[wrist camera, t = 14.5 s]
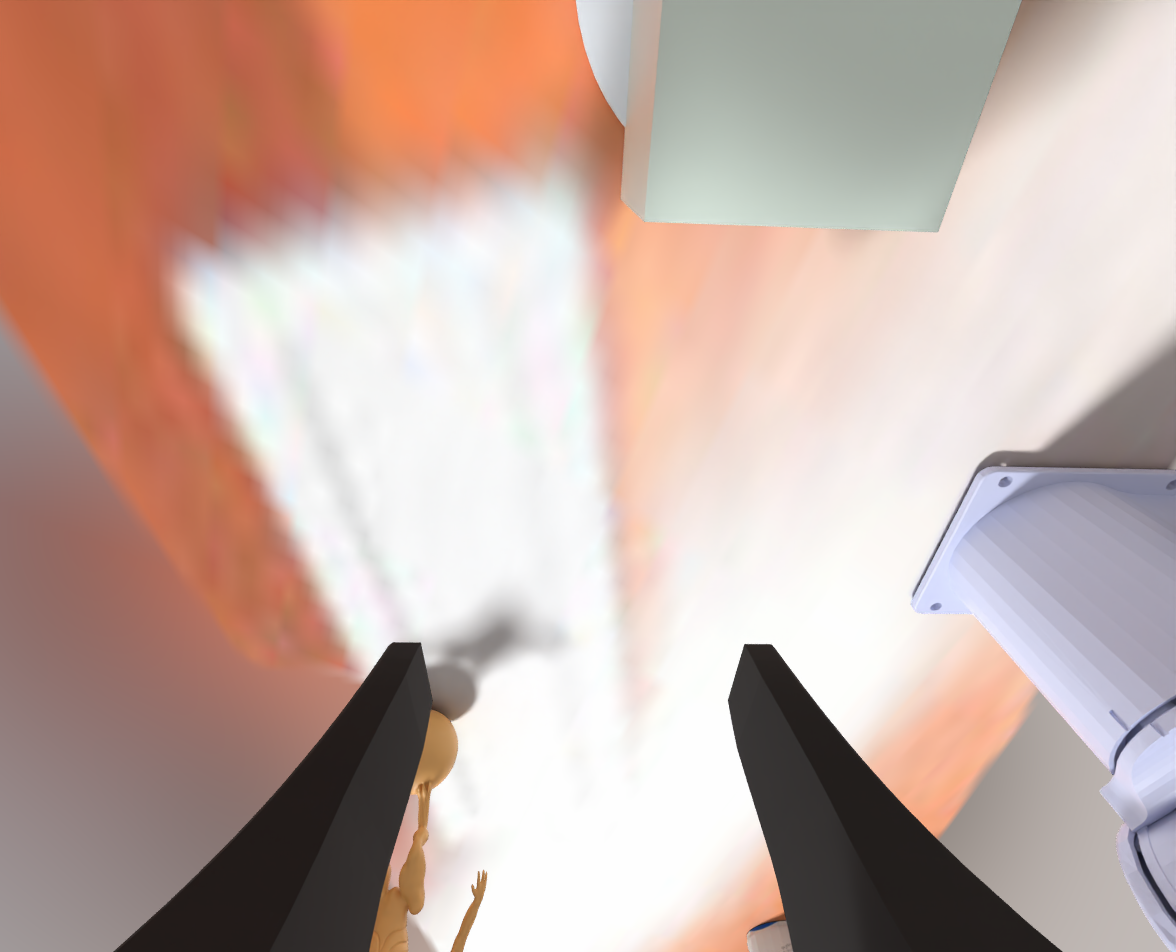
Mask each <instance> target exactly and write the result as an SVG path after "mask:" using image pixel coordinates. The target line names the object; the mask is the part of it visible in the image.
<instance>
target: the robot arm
mask: <svg viewBox="0 0 1176 952" xmlns="http://www.w3.org/2000/svg"><path fill="white" fill-rule="evenodd" d="M1002 478H1003V480H1001V479H1002ZM1000 480H1001V481H1000ZM911 606H912V608H913V609H914V610H915V612H917V613H922V614H973V615H974V616H975V617H976V618H977V619H978V620H979V622H980V623H981V624H982V625H983V626H984V627H985V629H986V630H987V631H988V632H989V633H990V634H991V635H992V637H993V638H994V639H995V640H996V641H997V642H998V643H999V645H1000V646H1001V647H1002V648H1003V649H1004V650H1005V652H1006V653H1007V654H1008V655H1009V656H1010V657H1011V658H1012V660H1013V661H1014V662H1015V663H1016V664H1017V665H1018V666H1019V668H1020V669H1021V670H1022V671H1023V672H1024V673H1025V675H1026V676H1027V677H1028V678H1029V679H1030V680H1031V681H1032V683H1033V684H1034V685H1035V686H1036V687H1037V688H1038V690H1039V691H1040V692H1041V693H1042V694H1043V695H1044V696H1045V698H1046V699H1047V700H1048V701H1049V702H1050V703H1051V704H1052V706H1053V707H1054V708H1055V709H1056V710H1057V711H1058V713H1059V714H1060V715H1061V716H1062V717H1063V718H1064V719H1065V721H1066V722H1067V723H1068V724H1069V725H1070V726H1071V727H1072V729H1073V730H1074V731H1075V732H1076V733H1077V734H1078V736H1079V737H1080V738H1081V739H1082V740H1083V741H1084V742H1085V744H1086V745H1087V746H1088V747H1089V748H1090V749H1091V751H1092V752H1093V753H1094V754H1095V755H1096V756H1097V757H1098V759H1099V760H1100V761H1101V762H1102V763H1103V764H1104V765H1105V767H1106V768H1107V769H1108V770H1109V771H1110V772H1111V774H1112V775H1114V776H1113V778H1112V779H1111V780H1110V781H1109V782H1108V783H1107V784H1106V785H1105V786H1104V787H1102V788H1101V789H1100V793H1101V794H1102V796H1103V797H1104V798H1105V799H1106V800H1107V802H1108V803H1109V804H1110V805H1111V806H1112V808H1113V809H1114V810H1115V811H1116V812H1117V814H1118V815H1119V816H1120V817H1121V818H1122V820H1123V821H1124V822H1125V823H1123V824H1122V825H1121V827H1120V829H1119V831H1118V833H1117V838H1116V839H1117V840H1116V848H1117V853H1118V858H1119V862H1120V865H1121V867H1122V870H1123V872H1124V875H1125V878H1126V880H1127V882H1128V884H1129V886H1130V888H1131V890H1132V892H1133V894H1134V896H1135V898H1136V900H1137V902H1138V904H1139V905H1140V908H1141V909H1142V911H1143V912H1144V914H1145V916H1146V918H1147V919H1148V921H1149V922H1150V924H1151V925H1152V927H1153V928H1154V930H1155V931H1156V933H1157V934H1158V936H1159V937H1160V938H1161V940H1162V941H1163V942H1164V944H1165V945H1166V946H1167V948H1168V949H1169V950H1170V951H1171V952H1176V470H1158V469H1104V468H1050V467H996V466H993V467H987V468H985V469H983V470H981V471H980V472H979V473H978V474H977V475H976V477H975V479H974V481H973V483H972V484H971V486H970V488H969V490H968V492H967V494H966V496H965V498H964V500H963V502H962V504H961V506H960V508H959V510H958V512H957V514H956V515H955V517H954V519H953V521H952V523H951V525H950V527H949V529H948V531H947V533H946V535H945V537H944V539H943V541H942V543H941V545H940V547H939V548H938V550H937V552H936V554H935V556H934V558H933V560H932V562H931V564H930V566H929V568H928V570H927V572H926V574H925V576H924V578H923V579H922V581H921V583H920V585H919V587H918V589H917V591H916V593H915V595H914V597H913V599H912V601H911ZM432 701H433V700H432V695H431V690H430V685H429V680H428V675H427V670H426V666H425V661H424V656H423V651H422V646H421V643H396V642H393V643H392V644H390V645H389V646H388V647H387V649H386V650H385V652H384V653H383V655H382V656H381V658H380V659H379V661H378V662H377V664H376V665H375V666H374V668H373V669H372V671H371V672H370V674H369V675H368V676H367V678H366V679H365V681H364V682H363V683H362V685H361V686H360V688H359V689H358V690H357V692H356V693H355V694H354V696H353V697H352V699H351V700H350V701H349V703H348V704H347V705H346V707H345V708H344V709H343V711H342V712H341V713H340V714H339V716H338V717H337V718H336V720H335V721H334V722H333V723H332V725H331V726H330V727H329V729H328V730H327V731H326V733H325V734H324V735H323V736H322V738H321V739H320V740H319V742H318V743H317V744H316V745H315V746H314V748H313V749H312V750H311V751H310V752H309V753H308V755H307V756H306V757H305V759H304V760H303V761H302V762H301V763H300V764H299V766H298V767H297V768H296V769H295V770H294V771H293V773H292V774H291V775H290V776H289V777H288V779H287V780H286V781H285V782H284V783H283V784H282V786H281V787H280V788H279V789H278V790H277V791H276V793H275V794H274V795H273V796H272V797H271V798H270V799H269V800H268V801H267V802H266V804H265V805H264V806H263V807H262V808H261V809H260V810H259V811H258V812H257V813H256V815H255V816H254V817H253V818H252V819H251V820H250V821H249V822H248V823H247V824H246V825H245V826H244V827H243V828H242V829H241V830H240V831H239V833H238V834H237V835H236V836H235V837H234V838H233V839H232V840H231V841H230V842H229V843H228V844H227V845H226V846H225V847H224V848H223V849H222V850H221V851H220V852H219V853H218V854H217V855H216V856H215V857H214V858H213V859H212V860H211V861H210V862H209V863H208V864H207V865H206V866H205V867H204V868H203V869H202V870H201V871H200V872H199V873H198V874H197V875H196V876H195V877H194V878H193V879H192V880H191V881H190V882H189V883H188V884H187V885H186V886H185V887H184V888H183V889H181V890H180V891H179V892H178V893H177V894H176V895H175V896H174V897H173V898H172V899H171V900H170V901H169V902H168V903H167V904H166V905H165V906H164V907H162V908H161V909H160V910H159V911H158V912H157V913H156V914H155V915H154V916H152V917H151V918H150V919H149V920H148V921H147V922H146V923H145V924H144V925H142V926H141V927H140V928H139V929H138V930H137V931H136V932H135V933H134V934H133V935H131V936H130V937H129V938H128V939H127V940H126V941H125V942H124V943H123V944H121V945H120V946H119V947H118V948H117V949H116V950H115V951H114V952H369V950H370V945H371V940H372V936H373V931H374V926H375V922H376V917H377V912H378V908H379V903H380V898H381V894H382V889H383V885H384V882H385V878H386V874H387V870H388V867H389V863H390V859H391V856H392V853H393V849H394V846H395V843H396V839H397V836H398V833H399V830H400V826H401V823H402V820H403V816H404V813H405V810H406V806H407V803H408V800H409V796H410V793H411V790H412V786H413V783H414V780H415V776H416V773H417V769H418V766H419V763H420V759H421V756H422V752H423V749H424V744H425V739H426V734H427V728H428V723H429V718H430V712H431V706H432ZM728 703H729V709H730V714H731V720H732V725H733V730H734V735H735V740H736V745H737V749H738V753H739V756H740V759H741V763H742V766H743V769H744V773H745V776H746V779H747V782H748V786H749V789H750V792H751V795H752V799H753V802H754V805H755V808H756V811H757V815H758V818H759V821H760V824H761V827H762V831H763V834H764V837H765V840H766V844H767V847H768V850H769V853H770V856H771V860H772V863H773V867H774V871H775V874H776V878H777V882H778V886H779V890H780V895H781V899H782V904H783V908H784V913H785V917H786V922H787V926H788V931H789V935H790V940H791V944H792V949H793V952H1062V951H1061V950H1060V949H1059V948H1057V947H1056V946H1055V945H1054V944H1053V943H1051V942H1050V941H1049V940H1048V939H1046V938H1045V937H1044V936H1043V935H1042V934H1041V933H1039V932H1038V931H1037V930H1036V929H1034V928H1033V927H1032V926H1031V925H1030V924H1029V923H1028V922H1027V921H1025V920H1024V919H1023V918H1022V917H1021V916H1020V915H1019V914H1018V913H1016V912H1015V911H1014V910H1013V909H1012V908H1011V907H1010V906H1009V905H1008V904H1006V903H1005V902H1004V901H1003V900H1002V899H1001V898H1000V897H999V896H997V895H996V894H995V893H994V892H993V891H992V890H991V889H990V888H989V887H988V886H986V885H985V884H984V883H983V882H982V881H980V879H979V878H977V877H976V876H975V875H974V874H973V873H972V872H971V871H970V870H969V869H968V868H966V867H965V866H964V865H963V864H962V863H961V862H960V861H959V860H958V859H957V858H956V857H955V856H954V855H953V854H952V853H951V852H950V851H949V850H948V849H947V848H946V847H945V846H944V845H943V844H942V843H941V842H940V841H939V840H937V839H936V838H935V837H934V836H933V835H932V834H931V833H930V832H929V831H928V830H927V829H926V828H925V827H924V825H923V824H922V823H921V822H920V821H919V820H918V819H917V818H916V817H915V816H914V815H913V814H912V813H911V812H910V811H909V810H908V809H907V808H906V807H905V806H904V805H903V804H902V803H901V802H900V801H899V800H898V799H897V797H896V796H895V795H894V794H893V793H892V792H891V791H890V790H889V789H888V788H887V787H886V786H885V784H884V783H883V782H882V781H881V780H880V779H879V778H878V777H877V775H876V774H875V773H874V772H873V771H872V770H871V769H870V768H869V766H868V765H867V764H866V763H865V762H864V761H863V760H862V758H861V757H860V756H859V755H858V754H857V753H856V751H855V750H854V749H853V748H852V747H851V746H850V744H849V743H848V742H847V741H846V739H845V738H844V737H843V736H842V735H841V733H840V732H839V731H838V730H837V728H836V727H835V726H834V725H833V724H832V722H831V721H830V720H829V719H828V717H827V716H826V715H825V714H824V712H823V711H822V710H821V709H820V707H819V706H818V705H817V704H816V702H815V701H814V700H813V698H812V697H811V696H810V694H809V693H808V692H807V691H806V689H805V688H804V687H803V685H802V684H801V683H800V681H799V680H798V679H797V677H796V676H795V675H794V673H793V672H792V671H791V669H790V668H789V667H788V665H787V664H786V663H785V661H784V660H783V659H782V657H781V656H780V655H779V653H778V652H777V650H776V649H775V648H774V647H773V646H772V645H771V644H744V647H743V651H742V654H741V658H740V661H739V664H738V668H737V671H736V675H735V678H734V682H733V685H732V688H731V692H730V695H729V699H728Z"/></svg>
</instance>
